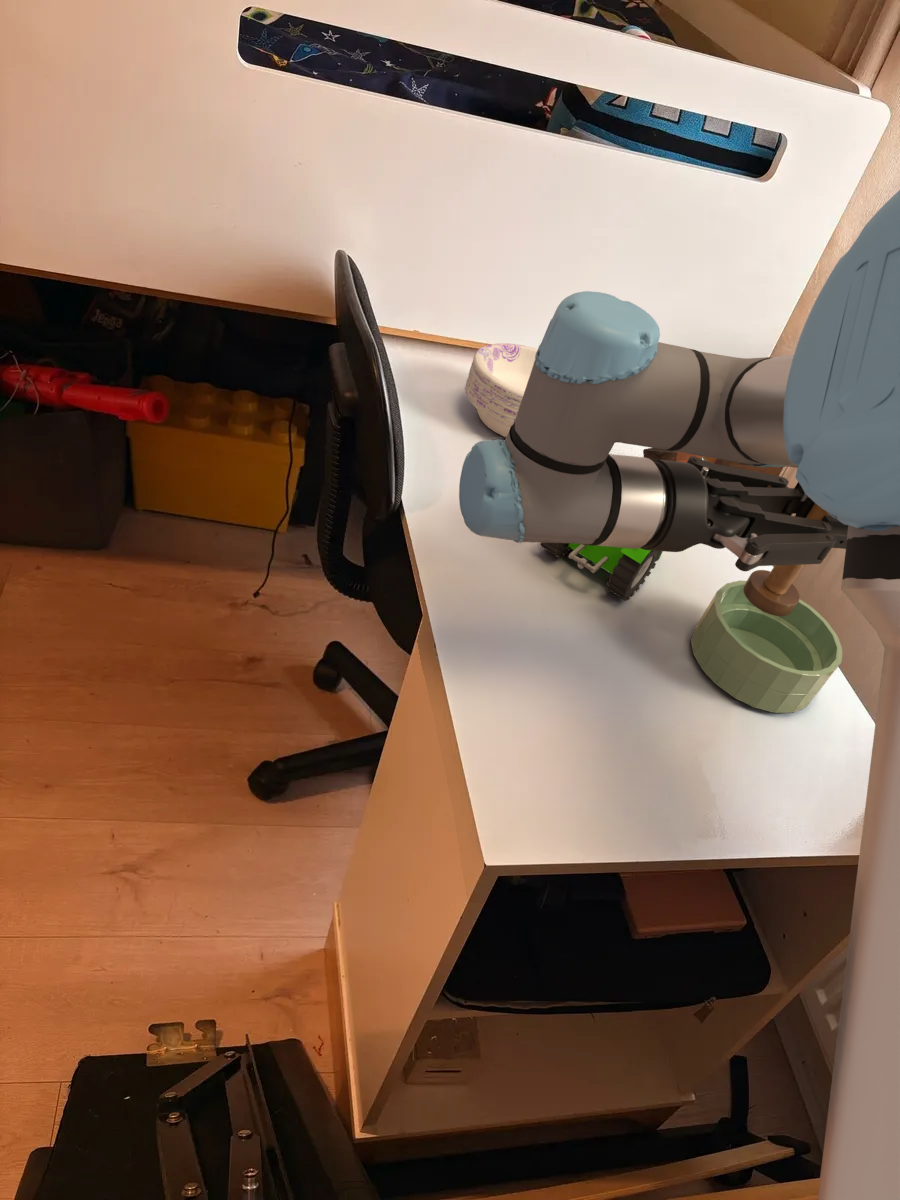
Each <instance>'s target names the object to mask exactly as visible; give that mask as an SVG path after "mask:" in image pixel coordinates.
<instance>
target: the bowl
mask: <svg viewBox="0 0 900 1200" xmlns="http://www.w3.org/2000/svg"><path fill="white" fill-rule="evenodd" d="M746 581H747V580H735V581H732V582H727V583H725V584H723V586H721V587H720V588H719V589H718V590H717V591H716V592H715V594H714V596H713V598H712V599H711V601H710V602H709V604H708V606H706V609H705V611H704V612H703V614H702V616H701V617H700V619H699V621H698V622H697V623H696V626H695V627H694V629H693V632H692V635H691V638H690V643H691V648H692V654H693V656H694V657H695V659H696V662H697V663H698V665H699V666H700V668H701V670H702V671H703V672H704V673H705V675H706V676H707V677H708V678H709V679H710V680H711V681H712V682H713V683H714V684H715V685H716V686H717V687H719V688H720V689H721V690H722V691H724V692H726V693H727V694H729V695H730V696H731V697H733V698H734V699H736V700H738V701H740V702H742V703H744V704H746V705H748V706H749V707H752V708H755V709H759V710H762V711H766V712H769V713H774V714H786V713H787V714H792V713H795V712H798V711H800V710H804V709H806V708H807V707H808V705H810V703H811V702H812V701H813V700H814V699H815V697H816V696H817V694H818V693H819V692H820V691H821V689H822V688H823V687H824V685H825V684H826V683H827V682H828V680H829V679H830V678H831V677H832V675H833V674H834V672H836V671H837V669H838V668H839V666H840V665H841V664H842V663H843V662H842V659H843V651H844V650H843V646H842V644H841V641H840V638H839V636H838V634H837V632H835V630H834V629H833V627H832V626H831V625H830V622H828V621H827V620H826V619H825V618H824V617H823V616H822V615H821V614H820V613H819V612H818V611H817V610H816V609H815V608H814V607H812V606H811V605H809V603H807V602H805V601H803V600H802V599H801V598H800V599H799V602H798V603H797V605H796V606H795V608H794V609H793V610H792V612H791V613H790V614H789V615H786V616H774V615H771V614H768V613H766V612H763V611H762V610H760V609H758V608H757V607H755V606H754V605H753V604H752V603H751V602H750V601H749V600H748V599H747V598H746V596H745V594H744V591H743V587H744V584H745V583H746Z"/></svg>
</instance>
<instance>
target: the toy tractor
mask: <svg viewBox="0 0 900 1200" xmlns="http://www.w3.org/2000/svg"><path fill="white" fill-rule="evenodd" d="M539 545H540V547H541V548H543V549H544V550H546V551H547V552H549V553H550V554H552V555H553V556H555V557H556V558H557V559H560V558H563V557H564V556H566V555H568V558H569V559H570V560H573V561H575V562H577V565H576V566H577V568H578V569H580V570H582V569H584V568H586V569H588V571H590V572H591V573H592V574H595V573H596V572H597V571H598V570H599V569H600V568H602V569H603V570H605V571H606V572H608V573H609V574H610V575H609V577H608V579H609V580H608V581H607V584H606V589H607V590H608V591H609V592H611V593H613V594H614V595H616V596H617V597H619V598H620V599H622V600H624V601H628V600H630V598H632V597H633V596H635V592H638V591H639V590H640V587H641V585H643V586H644V584H645V583H646V578H647V577H649V576H650V575H651V574H652V572H651V570H652V569H655V567H656V566H657V563H656V562H657V561H659V560H660V558H661V557H662V554H663V552H664V551H652V550H643V549H641V548H633V549H632V548H620V547H609V546H597V545H596V546H591V545H583V544H576V543H543V542H540V543H539ZM569 551H571V552H570V553H569ZM578 554H579V555H581V556H582V557H581V558H580V557H579V556H577V555H578ZM588 560H589V561H590V562H592V563H593V564H595V565H591V564H590V563H588Z"/></svg>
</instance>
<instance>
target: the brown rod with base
mask: <svg viewBox="0 0 900 1200" xmlns="http://www.w3.org/2000/svg"><path fill="white" fill-rule="evenodd" d="M824 515H828V516H831V515H830V514H829V513H828V512H827V511H825V510H823V509H822V508H821V507H820V506H818V505H817V504H816V503H815V504H814V505H813V507H812V508H811V510H810V512H809V513H808V515H807V516H806V518H807V519H813V520H819V521H821V520H822V518H823V517H824ZM805 566H806V564H804V565H776V566H772V569H771V570H767V569H757V570H754V571H752V572H751V573H750V575H749V576H748V578H747V579H746V580H745V581H746V583H745V584H744V587H743V591H744V594H745V596H746V598H747V599H748V600H749V601H750V602H751V603H752V604H753V605H754V606H755V607H757V608H758V609H760V610H762V611H763V612H766V613H768V614H771V615H774V616H786V615H789V614H790V613H791V612H792V610H793V609H794V608H795V606H796V605H797V603H798V602H799V599H800V600H801V596H800V593H799V591H798V589H797V587H796V585H794V584H793V583H794V581H795V580H796V578H797V577H798V576H799V574H800V573H801V572H802V570H803V568H804V567H805Z"/></svg>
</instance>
